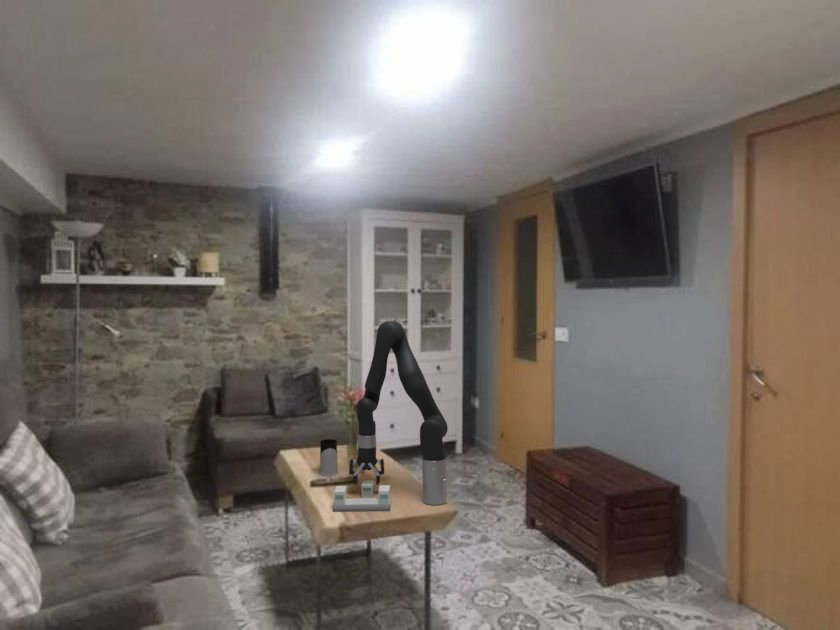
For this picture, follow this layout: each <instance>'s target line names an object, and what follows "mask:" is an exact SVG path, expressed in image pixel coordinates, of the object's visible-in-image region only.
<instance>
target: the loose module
mask: <svg viewBox="0 0 840 630" xmlns="http://www.w3.org/2000/svg"><path fill="white" fill-rule="evenodd" d="M374 482H375V481H374V480H373V479H372V480H371V479H367V480H366V479H363V480H362V483H361V485H360V486H361V498H374V493H375V490H374V489H375V484H374Z"/></svg>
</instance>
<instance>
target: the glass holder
mask: <svg viewBox="0 0 840 630" xmlns="http://www.w3.org/2000/svg"><path fill="white" fill-rule="evenodd" d="M319 444H320V446H319V447H320V451H319V460H320V461H319V463H320V464H319V467H320V468H319V469H320V471H319V474H318V475H319V476H322V477H333V476H337V475H339V470H338V442H337V439H331V438H328V439H323V440H322V439H321V440H320V441H319Z"/></svg>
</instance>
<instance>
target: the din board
mask: <svg viewBox="0 0 840 630" xmlns="http://www.w3.org/2000/svg"><path fill="white" fill-rule="evenodd" d="M347 487H348V486H347V485H336V486H335V489H334V492H333V496H334V497H333V499H334V501H333V508H332V512H333V513H334V512H335V513H336V512H337V513H338V512H339V513H342V512H344V513H345V512H346V513H347V512H350V513H351V512H353V513H355V512H390V511H391V506H392V505H391V504H392V503H391V502H392V498H391V485H390V484H389V485H387V484H385V485H383V484H382V485H381V484H380V485H379V487H378V497H373V498H362V497H361V498H360V497H358V498H357V497H353V498H350V497H349V498H348V493H347V492H348V488H347Z"/></svg>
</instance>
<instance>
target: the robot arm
mask: <svg viewBox="0 0 840 630" xmlns="http://www.w3.org/2000/svg"><path fill="white" fill-rule="evenodd" d="M391 351H392V353H393V355H394V357H395V362H396V369H397V374H398V377H399V380H400V382H401V385H402V388H403V389H404V392H405V393H406V395H407V396H408V397H409V399H410V400H411V401H412V402H413V403H414V404H415V405H416V407H417V408H418V410H419V412H420V413H421V416H422V418H423V420H424V421H422V423H421V425H420V428H419V445H420V452H421V455H422V457H421V459H422V460H421V462H422V463H421V465H422V470H421V471H422V473H421V474H422V503H424V504H425V505H429V506H439V505H443V504H447V475H446V474H447V469H446V468H447V466H446V465H447V464H446V463H447V461H446V457H447V456H446V455H447V454H446V450H444V447H443V446H444V445H443V438H444V437H446V436H447V433H448V430H449V429H448V428H449V427H448V423H447V421H446V419H445V417H444V416H443V414H442V412H441V411H440V409H439V407H438V406H437V403H436V401H435V400H434V397H433V394H432V391H431V389H430V388H429V386H428V383H427V380H426V378H425V376H424V374H423V372H422V370H421V368H420V366H419V363H418V361H417V359H416V357H415V356H414V355H415V354H414V353H413V351H412V349H411V346H410V344H409V340H408V337H407V335H406V332H405V329H404V327H403V324H401V323H400V322H398V321H394V320H390V321H389V320H388V321H384V322H382V323H380V324H379V326H378V328H377V331H376V339H375V346H374V351H373V356H372V360H371V363H370V364H371V365H370V368H369V371H368V374H367V376H366V380H365V384H364V389H365V390H364V394H363V396H362V398H360V399H359V400H358V401H357V402H356V407H355V408H356V410H355V411H356V416H357V421H358V438H357V459H355V458H350V460H349V470H348V474H349V475H353V483H354V484H355V485H358V484H359V483H358V478H359V477H358V474H359V472H361V470H362V471H371V470H372V471H373V473H374V474H375V476H376V479H375V482H376V486H378V485H379V484H380V482H381V479H380V478H381V475H384V474H385V459H384V458H383V457H382V458H380V459H378V458H377V436H376V435H377V434H376V433H377V430H376V429H377V428H376V427H377V426H376V425H377V424H376V421H375V420H374V412H375V411H376V410H377V409H378V406H379V402H380V399H381V397H380V396H381V391H382V388H383V385H384V382H385V379H386V376H387V375H386V374H387V367H388V360H389V354H390V352H391ZM355 464H357V465H358V466H357V468H356V469H355V470H354V465H355ZM377 464H378V465H380V470H379V469H378V467H377V466H376V465H377Z"/></svg>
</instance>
